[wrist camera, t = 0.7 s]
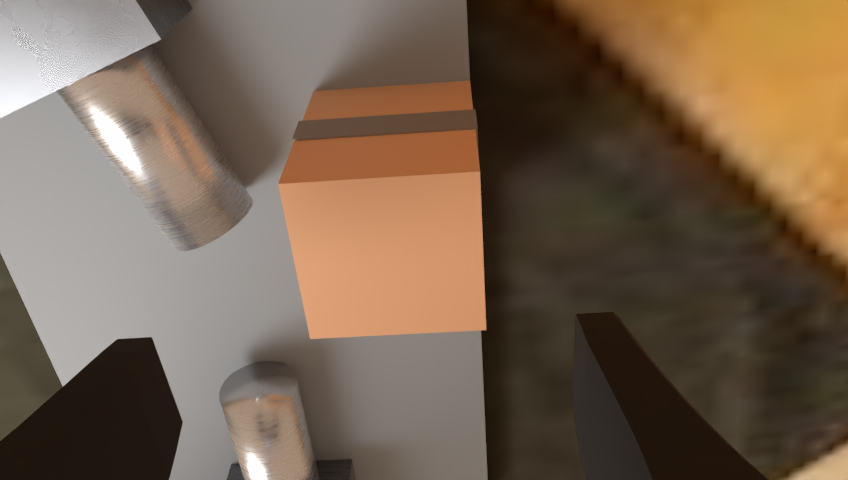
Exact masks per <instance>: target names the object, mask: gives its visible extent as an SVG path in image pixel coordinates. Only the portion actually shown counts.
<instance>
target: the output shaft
mask: <svg viewBox="0 0 848 480" xmlns="http://www.w3.org/2000/svg"><path fill="white" fill-rule="evenodd" d="M192 9H193V8H192V7H191V5H190V3H189V2H188V0H0V117H1V118H2V117H4V116H6V115H8V114H10V113H12V112H14V111H16V110H18V109H20V108H22V107H24V106H26V105H28V104H30V103H32V102H34V101H36V100H39V99H41V98H43V97H45V96H47V95H49V94H51V93H53V92H55V91H56V93H57V94H58V95H59V97H60V98H61V99H62V101H63V102H64V103H65V105H66V106H67V107H68V109H69V110H70V111H71V113H72V114H73V115H74V116H75V118H76V119H77V120H78V122H79V123H80V124H81V126H82V127H83V128H84V130H85V131H86V132H87V134H88V135H89V136H90V138H91V139H92V140H93V142H94V143H95V144H96V146H97V147H98V148H99V150H100V151H101V152H102V153H103V155H104V156H105V157H106V159H107V160H108V161H109V163H110V164H111V165H112V167H113V168H114V169H115V171H116V172H117V173H118V175H119V176H120V177H121V179H122V180H123V181H124V183H125V184H126V185H127V186H128V188H129V189H130V190H131V192H132V193H133V194H134V196H135V197H136V198H137V200H138V201H139V202H140V204H141V205H142V206H143V208H144V209H145V210H146V212H147V213H148V214H149V216H150V217H151V218H152V219H153V221H154V222H155V223H156V225H157V226H158V227H159V229H160V230H161V231H162V233H163V234H164V235H165V237H166V238H167V239H168V241H169V242H170V243H171V245H172V246H173V247H174V249H175V250H177V251H189V250H193V249H196V248H199V247H202V246H204V245H206V244H208V243H210V242H212V241H214V240H216V239H217V238H219V237H221V236H222V235H224V234H225V233H227V232H228V231H229V230H231V229H232V228H233V227H234V226H236V225H237V224H238V223H239V222H240V221H241V220H242V219H243V218H244V217H245V216H246V215H247V213H248V212H249V210H250V209H251V207H252V204H253V199H252V197H251V196H250V194H249V193H248V191H247V190H246V188H245V187H244V185H243V184H242V182H241V181H240V179H239V178H238V176H237V175H236V173H235V172H234V170H233V169H232V167H231V166H230V164H229V163H228V161H227V160H226V158H225V157H224V155H223V153H222V152H221V150H220V149H219V147H218V146H217V144H216V143H215V141H214V140H213V138H212V137H211V135H210V134H209V132H208V131H207V129H206V128H205V126H204V125H203V123H202V122H201V120H200V119H199V117H198V116H197V114H196V113H195V111H194V110H193V108H192V107H191V105H190V104H189V102H188V101H187V99H186V97H185V96H184V94H183V93H182V91H181V90H180V88H179V87H178V85H177V84H176V82H175V81H174V79H173V78H172V76H171V75H170V73H169V72H168V70H167V69H166V67H165V66H164V64H163V63H162V61H161V60H160V58H159V57H158V55H157V54H156V52H155V51H154V49H153V48H152V46H151V44H153V43H155V42H157V41H159V40H161V39H162V38H163V37H164V36H165V35H166V34H167V33H168V32H169V31H170V30H171V29H172V28H173V27H175V26H176V25H177V24H178V23H179V22H180V21H181V20H182V19H183V18H184V17H185V16H186V15H187V14H188V13H189V12H190V11H191V10H192Z"/></svg>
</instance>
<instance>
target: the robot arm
mask: <svg viewBox="0 0 848 480" xmlns="http://www.w3.org/2000/svg"><path fill="white" fill-rule="evenodd" d="M572 405H573V412H574V418H575V425H576V431H577V437H578V443H579V449H580V455H581V460H582V464H583V467H584V471H585V475H586V478H587V480H768V479H767V478H766V477H765V476H764V475H763V474H761V473H760V472H759V471H758V470H757V469H756V468H755V467H753V466H752V465H751V464H750V463H749V462H748V461H747V460H746V459H745V458H744V457H742V456H741V455H740V454H739V453H738V452H737V451H736V450H735V449H734V448H733V447H732V446H731V445H730V444H729V443H728V442H727V441H726V440H725V439H724V438H723V437H722V436H721V435H720V434H719V433H718V432H717V431H716V430H715V429H714V428H713V427H712V426H711V425H710V424H709V423H708V422H707V421H706V420H705V419H704V418H703V417H702V416H701V415H700V414H699V413H698V412H697V411H696V410H695V409H694V408H693V407H692V406H691V405H690V403H689V402H688V401H687V400H686V399H685V398H684V397H683V396H682V395H681V393H680V392H679V391H678V390H677V389H676V388H675V387H674V386H673V384H672V383H671V382H670V381H669V380H668V379H667V378H666V377H665V375H664V374H663V373H662V372H661V371H660V369H659V368H658V367H657V366H656V365H655V363H654V362H653V361H652V360H651V358H650V357H649V356H648V355H647V354H646V352H645V351H644V350H643V349H642V347H641V346H640V345H639V343H638V342H637V341H636V340H635V338H634V337H633V336H632V334H631V333H630V332H629V330H628V329H627V328H626V326H625V325H624V324H623V322H622V321H621V319H620V318H619V317H618V316H617V315H616V314H615V313H613V312H605V313H586V314H576V319H575V345H574V370H573V395H572ZM182 423H183V421H182V418H181V416H180V413H179V410H178V407H177V405H176V402H175V399H174V396H173V394H172V391H171V388H170V386H169V383H168V380H167V377H166V375H165V372H164V369H163V366H162V364H161V361H160V358H159V355H158V353H157V350H156V347H155V344H154V342H153V339H152V337H145V338H127V339H117V340H116V341H114V342H113V343H112V344H111V345H109V346H108V347H107V348H106V349H105V350H103V351H102V352H101V353H100V354H99V355H98V356H97V357H95V358H94V359H93V360H92V361H91V362H90V363H89V364H88V365H86V366H85V367H84V368H83V369H82V370H81V371H80V372H79V373H78V374H76V375H75V376H74V377H73V378H72V379H71V380H70V381H69V382H68V383H67V384H65V385H64V386H63V387H62V388H61V389H60V390H59V391H58V392H57V393H55V394H54V395H53V396H52V397H51V398H50V399H49V400H48V401H46V402H45V403H44V404H43V405H42V406H41V407H40V408H39V409H37V410H36V411H35V412H34V413H33V414H32V415H31V416H30V417H28V418H27V419H26V420H25V421H24V422H23V423H22V424H20V425H19V426H18V427H17V428H16V429H15V430H13V431H12V432H11V433H10V434H8V435H7V436H6V437H5V438H4V439H2V440H1V441H0V480H169V478H170V474H171V470H172V467H173V463H174V459H175V455H176V451H177V446H178V442H179V437H180V432H181V428H182Z"/></svg>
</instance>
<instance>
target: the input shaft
mask: <svg viewBox="0 0 848 480" xmlns="http://www.w3.org/2000/svg"><path fill="white" fill-rule="evenodd" d="M219 401H220V404H221V407H222V410H223V413H224V417H225V420H226V423H227V426H228V429H229V433H230V436H231V439H232V442H233V445H234V448H235V452H236V455H237V458H238V461H239V464H231V466H230V470H229V473H228V477H227V480H356V477H355V472H354V466H353V461H352V459H341V460H317V461H315V457H314V452H313V448H312V444H311V439H310V435H309V431H308V426H307V422H306V417H305V413H304V409H303V404H302V400H301V396H300V391H299V387H298V383H297V378H296V375H295V373H294V371H293V370H292V369H291V368H290V367H288V366H287V365H285V364H282V363H279V362H273V361H263V362H256V363H252V364H249V365H246V366H244V367H242V368H240V369H238V370H237V371H235V372H234V373H232V374H231V375H230V376H229V377H228V378H227V379H226V380H225V381H224V383H223V384H222V386H221V388H220V391H219Z"/></svg>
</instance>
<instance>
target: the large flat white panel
mask: <svg viewBox="0 0 848 480" xmlns="http://www.w3.org/2000/svg"><path fill="white" fill-rule="evenodd" d="M188 2H189V3H190V5H191V7H192V8H193V9H192V10H191V11H190V12H189V13H188V14H187V15H186V16H185V17H184V18H183V19H182V20H181V21H180V22H179V23H178V24H177V25H176V26H175V27H173V28H172V29H171V30H170V31H169V32H168V33H167V34H166V35H165V36H164V37H163V38H162V39H161V40H159V41H157V42H155V43H153V44H151V46H152V48H153V49H154V51H155V52H156V54H157V55H158V57H159V58H160V60H161V61H162V63H163V64H164V66H165V67H166V69H167V70H168V72H169V73H170V75H171V76H172V78H173V79H174V81H175V82H176V84H177V85H178V87H179V88H180V90H181V91H182V93H183V94H184V96H185V97H186V99H187V101H188V102H189V104H190V105H191V107H192V108H193V110H194V111H195V113H196V114H197V116H198V117H199V119H200V120H201V122H202V123H203V125H204V126H205V128H206V129H207V131H208V132H209V134H210V135H211V137H212V138H213V140H214V141H215V143H216V144H217V146H218V147H219V149H220V150H221V152H222V153H223V155H224V157H225V158H226V160H227V161H228V163H229V164H230V166H231V167H232V169H233V170H234V172H235V173H236V175H237V176H238V178H239V179H240V181H241V182H242V184H243V185H244V187H245V188H246V190H247V191H248V193H249V194H250V196H251V197H252V199H253V204H252V207H251V209H250V210H249V212H248V213H247V215H246V216H245V217H244V218H243V219H242V220H241V221H240V222H239V223H238V224H237V225H236V226H234V227H233V228H232V229H231V230H229V231H228V232H227V233H225V234H224V235H222V236H221V237H219V238H217V239H216V240H214V241H212V242H210V243H208V244H206V245H204V246H202V247H199V248H196V249H193V250H189V251H177V250H175V249H174V247H173V246H172V245H171V243H170V242H169V241H168V239H167V238H166V237H165V235H164V234H163V233H162V231H161V230H160V229H159V227H158V226H157V225H156V223H155V222H154V221H153V219H152V218H151V217H150V216H149V214H148V213H147V212H146V210H145V209H144V208H143V206H142V205H141V204H140V202H139V201H138V200H137V198H136V197H135V196H134V194H133V193H132V192H131V190H130V189H129V188H128V186H127V185H126V184H125V183H124V181H123V180H122V179H121V177H120V176H119V175H118V173H117V172H116V171H115V169H114V168H113V167H112V165H111V164H110V163H109V161H108V160H107V159H106V157H105V156H104V155H103V153H102V152H101V151H100V150H99V148H98V147H97V146H96V144H95V143H94V142H93V140H92V139H91V138H90V136H89V135H88V134H87V132H86V131H85V130H84V128H83V127H82V126H81V124H80V123H79V122H78V120H77V119H76V118H75V116H74V115H73V114H72V113H71V111H70V110H69V109H68V107H67V106H66V105H65V103H64V102H63V101H62V99H61V98H60V97H59V95H58V94H57V93H56V91H55V92H53V93H51V94H49V95H47V96H45V97H43V98H41V99H39V100H36V101H34V102H32V103H30V104H28V105H26V106H24V107H22V108H20V109H18V110H16V111H14V112H12V113H10V114H8V115H6V116H4V117H2V118H1V117H0V253H1V255H2V257H3V259H4V261H5V263H6V266H7V268H8V270H9V272H10V274H11V276H12V278H13V281H14V283H15V285H16V287H17V289H18V291H19V293H20V296H21V298H22V300H23V302H24V304H25V306H26V308H27V311H28V313H29V315H30V317H31V319H32V321H33V323H34V326H35V328H36V330H37V332H38V334H39V336H40V338H41V341H42V343H43V345H44V347H45V349H46V351H47V353H48V356H49V358H50V360H51V362H52V364H53V366H54V368H55V371H56V373H57V375H58V377H59V379H60V381H61V383H62V386H64V385H65V384H67V383H68V382H69V381H70V380H71V379H72V378H73V377H74V376H75V375H76V374H78V373H79V372H80V371H81V370H82V369H83V368H84V367H85V366H86V365H88V364H89V363H90V362H91V361H92V360H93V359H94V358H95V357H97V356H98V355H99V354H100V353H101V352H102V351H103V350H105V349H106V348H107V347H108V346H109V345H111V344H112V343H113V342H114V341H116V340H117V339H127V338H145V337H152V339H153V342H154V344H155V347H156V350H157V353H158V355H159V358H160V361H161V364H162V366H163V369H164V372H165V375H166V377H167V380H168V383H169V386H170V388H171V391H172V394H173V396H174V399H175V402H176V405H177V407H178V410H179V413H180V416H181V418H182V421H183V423H182V428H181V432H180V437H179V442H178V446H177V451H176V455H175V459H174V463H173V467H172V470H171V474H170V478H169V480H227V477H228V473H229V470H230V466H231V464H239V461H238V458H237V455H236V452H235V448H234V445H233V442H232V439H231V436H230V433H229V429H228V426H227V423H226V420H225V417H224V413H223V410H222V407H221V404H220V401H219V391H220V388H221V386H222V384H223V383H224V381H225V380H226V379H227V378H228V377H229V376H230V375H231V374H232V373H234V372H235V371H237V370H238V369H240V368H242V367H244V366H246V365H249V364H252V363H256V362H263V361H273V362H279V363H282V364H285V365H287V366H288V367H290V368H291V369H292V370H293V371H294V373H295V375H296V378H297V383H298V387H299V391H300V396H301V400H302V404H303V409H304V413H305V417H306V422H307V426H308V431H309V435H310V439H311V444H312V448H313V452H314V457H315V461H317V460H341V459H352V461H353V466H354V472H355V477H356V480H488V476H487V453H486V431H485V408H484V386H483V363H482V340H481V330H479V331H459V332H440V333H420V334H400V335H380V336H360V337H341V338H321V339H310V336H309V331H308V326H307V321H306V316H305V312H304V307H303V302H302V297H301V292H300V288H299V283H298V278H297V273H296V268H295V264H294V259H293V254H292V249H291V244H290V240H289V235H288V230H287V225H286V220H285V216H284V211H283V206H282V201H281V196H280V192H279V187H278V183H279V180H280V177H281V175H282V172H283V169H284V167H285V164H286V162H287V159H288V156H289V154H290V151H291V149H292V146H293V143H292V137H293V135H294V132H295V130H296V127H297V125H298V122H299V121H302V120H303V117H304V115H305V112H306V109H307V107H308V104H309V102H310V99H311V96H312V94H313V91H323V90H338V89H353V88H367V87H382V86H397V85H411V84H426V83H440V82H455V81H470V69H469V47H468V24H467V2H466V0H188Z"/></svg>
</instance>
